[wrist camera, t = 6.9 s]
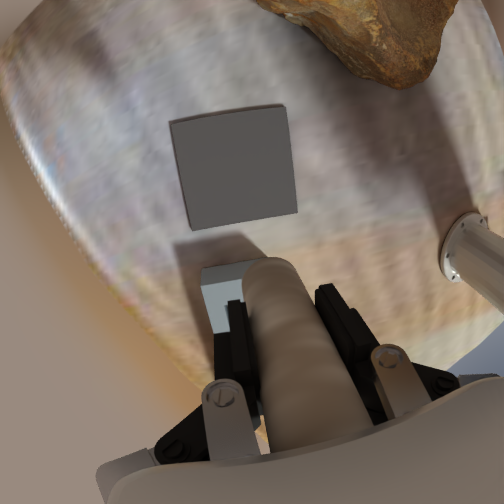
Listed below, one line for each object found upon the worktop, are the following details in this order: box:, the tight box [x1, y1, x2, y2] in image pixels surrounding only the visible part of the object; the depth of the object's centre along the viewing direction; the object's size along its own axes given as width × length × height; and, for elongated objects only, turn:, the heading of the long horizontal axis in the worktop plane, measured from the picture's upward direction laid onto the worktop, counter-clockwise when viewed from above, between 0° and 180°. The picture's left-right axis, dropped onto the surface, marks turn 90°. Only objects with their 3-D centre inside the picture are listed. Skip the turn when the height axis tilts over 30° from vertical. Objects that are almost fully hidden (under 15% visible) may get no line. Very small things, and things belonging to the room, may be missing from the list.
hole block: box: [200, 257, 268, 333], centre depth 37 cm, size 24×8×4 cm, turn 8°
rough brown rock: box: [256, 0, 458, 90], centre depth 17 cm, size 23×17×15 cm
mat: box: [171, 107, 298, 231], centre depth 29 cm, size 12×12×1 cm
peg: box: [241, 257, 374, 453], centre depth 10 cm, size 3×3×10 cm
